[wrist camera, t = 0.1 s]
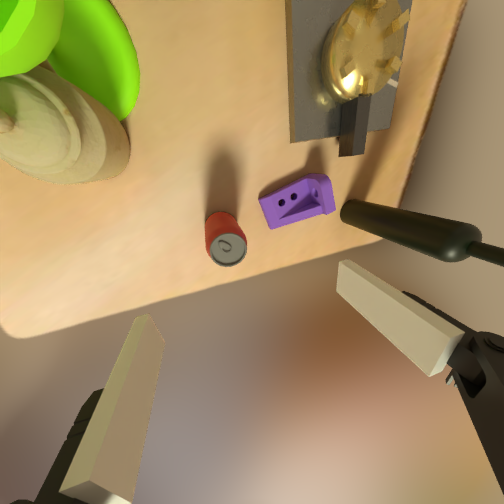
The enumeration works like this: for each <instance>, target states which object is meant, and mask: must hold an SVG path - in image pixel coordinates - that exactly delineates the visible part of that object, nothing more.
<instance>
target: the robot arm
mask: <svg viewBox="0 0 504 504" xmlns="http://www.w3.org/2000/svg"><path fill="white" fill-rule="evenodd" d="M336 291H337V292H338V293H339V294H340V295H341V296H342V297H343V298H344V299H345V300H346V301H347V302H348V303H350V304H351V305H352V306H353V307H354V308H355V309H356V310H357V311H358V312H359V313H360V314H361V315H363V316H364V317H365V318H366V319H367V320H368V321H369V322H370V323H371V324H372V325H373V326H374V327H376V328H377V329H378V330H379V331H380V332H381V333H382V334H383V335H384V336H385V337H386V338H388V339H389V340H390V341H391V342H392V343H393V344H394V345H395V346H396V347H397V348H398V349H399V350H400V351H401V352H403V353H404V354H405V355H406V356H407V357H408V358H409V359H410V360H411V361H412V362H413V363H414V364H416V365H417V366H418V367H419V368H420V369H421V370H422V371H423V372H424V373H425V374H426V375H427V376H429V377H430V376H432V375H434V374H437V373H439V372H442V370H443V369H444V367H445V365H446V364H448V365H449V366H450V367H452V368H453V369H452V370H451V372H450V373H449V375H448V377H447V378H446V384H448V385H450V383H451V382H452V380H453V379H454V380H455V384H454V387H457V388H458V390H459V392H460V394H461V397H462V399H463V401H464V404H465V406H466V408H467V411H468V413H469V415H470V418H471V420H472V422H473V425H474V427H475V429H476V431H477V434H478V436H479V439H480V441H481V443H482V446H483V448H484V450H485V453H486V455H487V457H488V460H489V462H490V464H491V467H492V469H493V471H494V473H495V476H496V478H497V481H498V483H499V485H500V488H501V490H502V492H503V494H504V337H502V336H500V335H497V334H494V333H490V332H482V331H481V332H476V331H474V330H472V329H471V328H469V327H467V326H465V325H464V324H462V323H461V322H459V321H457V320H456V319H454V318H452V317H451V316H449V315H447V314H446V313H444V312H442V311H441V310H439V309H436V308H435V307H434V306H432V305H431V304H429V303H426V301H424V300H422V299H420V298H419V297H417V296H415V295H413V294H410V293H408V292H405V291H402V292H400V291H398V290H397V289H395V288H394V287H392V286H390V285H389V284H387V283H386V282H384V281H383V280H381V279H379V278H378V277H376V276H375V275H373V274H371V273H370V272H368V271H367V270H365V269H363V268H362V267H360V266H359V265H357V264H355V263H354V262H352V261H350V260H349V259H347V260H343V261H340V262H339V269H338V279H337V289H336ZM164 346H165V341H164V340H163V338H162V336H161V334H160V332H159V330H158V329H157V327H156V325H155V323H154V322H153V320H152V318H151V316H150V314H145V315H141V316H137V317H136V318H135V320H134V322H133V324H132V327H131V329H130V331H129V333H128V336H127V338H126V340H125V342H124V345H123V347H122V349H121V352H120V354H119V356H118V358H117V361H116V363H115V365H114V367H113V370H112V372H111V374H110V377H109V379H108V381H107V384H106V386H105V388H103V389H100V390H97V391H94V392H93V393H92V395H91V396H90V397H89V398H88V400H87V401H86V402H85V403H84V405H83V406H82V408H81V410H80V412H79V414H78V416H77V418H76V420H75V422H74V426H72V428H71V430H70V432H69V434H68V436H67V440H66V441H65V442H64V444H63V446H62V448H61V450H60V452H59V453H58V456H57V458H56V459H55V462H54V464H53V466H52V468H51V469H50V471H49V474H48V476H47V478H46V480H45V482H44V484H43V485H42V487H41V489H40V491H39V494H38V495H37V498H36V499H35V501H34V502H32V501H29V500H16V501H14V502H12V503H10V504H131V503H132V500H133V495H134V490H135V486H136V481H137V476H138V471H139V466H140V461H141V457H142V452H143V447H144V443H145V438H146V433H147V428H148V423H149V419H150V414H151V409H152V404H153V399H154V394H155V390H156V384H157V380H158V375H159V370H160V366H161V361H162V356H163V351H164Z"/></svg>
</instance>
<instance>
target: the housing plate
mask: <svg viewBox="0 0 504 504" xmlns="http://www.w3.org/2000/svg"><path fill="white" fill-rule="evenodd" d="M354 1H355V0H285V9H286V37H287V65H288V93H289V121H290V144H291V143H297V142H304V141H311V140H318V139H324V138H331V137H338V136H340V129H341V115H342V104H341V103H338V102H336V101H335V100H334V99H333V98H331V96H330V95H329V94H328V92H327V90H326V88H325V86H324V83H323V79H322V73H321V57H322V50H323V46H324V43H325V40H326V37H327V35H328V32H329V30H330V29H331V27H332V25H333V24H334V23H335V21H336V20H337V19H338V18H339V17H340V16H341V15H342V14H343V13H344V11H345V10H346V9H347V8H348V7H349V6H350V5H351V4H352V3H353V2H354ZM397 1H398V3H399V5H400V8H401V11H402V13H403V12H404V11H405V10H407V9H408V8H409V15H410V11H411V5H412V0H397ZM408 22H409V21H408ZM408 22H407V23H406V24H405V25H404V40H403V47H402V52H401V55H400V60H401V61H402V56H403V50H404V44H405V39H406V33H407V28H408ZM400 67H401V66H400ZM399 73H400V68H399V70H398V72H396V73H394V74H392V76H391V78H390V79H389V81H388V82H387V83H386V84H385V86H384V87H383V88H382V89H381V90H379V91H378V92H377V93H375V94H373V95H372V96H371V104H370V112H369V119H368V127H367V132H371V131H378V130H384V129H388V128H390V123H391V118H392V112H393V106H394V101H395V95H396V89H397V85H398V78H399Z"/></svg>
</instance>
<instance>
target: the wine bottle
mask: <svg viewBox="0 0 504 504" xmlns="http://www.w3.org/2000/svg"><path fill="white" fill-rule="evenodd" d="M340 217H341V220H342V221H343V222H344V223H346V224H349V225H351V226H354V227H357V228H359V229H362V230H364V231H367V232H369V233H372V234H374V235H377V236H380V237H382V238H385V239H387V240H390V241H393V242H395V243H398V244H400V245H403V246H405V247H408V248H411V249H413V250H415V251H418V252H420V253H423V254H425V255H428V256H431V257H434V258H436V259H438V260H441V261H444V262H458V261H462V260H464V259H466V258H468V257H470V256H473V257H476V258H479V259H482V260H485V261H488V262H491V263H494V264H497V265H500V266H503V267H504V248H500V247H496V246H492V245H489V244H485V243H482V242H481V241H482V234H481V231H480V230H479V229H478V228H477V227H476V226H474V225H472V224H468V223H464V222H459V221H455V220H450V219H445V218H440V217H436V216H431V215H426V214H422V213H417V212H412V211H408V210H403V209H398V208H393V207H389V206H384V205H379V204H375V203H370V202H365V201H360V200H356V199H353V200H350V201H348V202H347V203H345V205H344V206H343V207H342V209H341V213H340Z"/></svg>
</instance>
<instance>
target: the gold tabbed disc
mask: <svg viewBox="0 0 504 504" xmlns="http://www.w3.org/2000/svg"><path fill="white" fill-rule="evenodd" d="M409 20H410V15H409V8H408V9H407V10H405V11H404V12H403V13H402V11H401V8H400V5H399V3H398V1H397V0H355V1H354V2H353V3H352V4H351V5H350V6H349V7H348V8H347V9H346V10H345V11H344V13H343V14H342V15H341V16H340V17H339V18H338V19H337V20H336V21H335V23H334V24H333V25H332V27H331V29H330V30H329V32H328V35H327V37H326V40H325V43H324V46H323V50H322V57H321V73H322V79H323V83H324V86H325V88H326V90H327V92H328V94H329V95H330V96H331V98H333V99H334V100H335V101H336V102H338V103H341V104H342V115H341V129H340V143H339V157H344V156H354V155H360V154H364V150H365V142H366V135H367V127H368V119H369V112H370V104H371V96H372V95H373V94H375V93H377V92H378V91H379V90H381V89H382V88H383V87H384V86H385V84H386V83H387V82H388V81H389V79H390V78H391V76H392V74H394V73H396V72H398V70H399V68H400V66H401V64H402V61H401V60H400V55H401V52H402V47H403V40H404V25H405V24H406V23H407V22H408V21H409Z"/></svg>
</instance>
